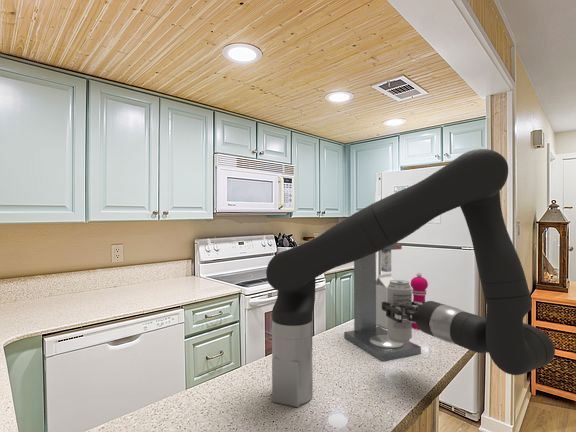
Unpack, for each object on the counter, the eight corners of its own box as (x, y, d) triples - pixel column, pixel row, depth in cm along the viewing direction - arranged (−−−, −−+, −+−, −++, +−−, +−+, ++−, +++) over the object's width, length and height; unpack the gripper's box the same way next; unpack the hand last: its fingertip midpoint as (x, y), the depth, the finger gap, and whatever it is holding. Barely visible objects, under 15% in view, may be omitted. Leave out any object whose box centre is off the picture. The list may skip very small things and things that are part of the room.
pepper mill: (433, 330, 121) (433, 274, 121) (412, 330, 121) (412, 274, 121) (425, 323, 128) (425, 271, 129) (406, 323, 129) (406, 271, 129)
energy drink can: (407, 335, 90) (407, 279, 91) (415, 343, 84) (415, 283, 85) (384, 335, 91) (384, 279, 91) (390, 343, 85) (390, 283, 85)
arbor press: (441, 349, 104) (440, 238, 104) (382, 361, 95) (382, 240, 95) (396, 329, 122) (396, 235, 122) (344, 337, 114) (343, 236, 114)
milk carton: (399, 325, 127) (398, 274, 127) (386, 328, 123) (386, 276, 123) (383, 320, 133) (383, 272, 133) (371, 323, 129) (371, 273, 129)
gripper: (467, 302, 77) (413, 288, 93) (419, 308, 72) (370, 292, 87) (467, 335, 77) (413, 315, 93) (419, 343, 72) (370, 321, 87)
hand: (393, 304), depth 90 cm, fingers closed on energy drink can, 6 cm apart
